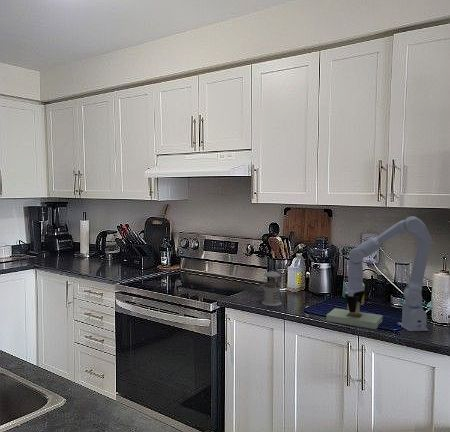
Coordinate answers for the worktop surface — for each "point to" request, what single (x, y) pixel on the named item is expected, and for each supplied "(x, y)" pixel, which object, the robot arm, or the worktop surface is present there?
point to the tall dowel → (355, 311)
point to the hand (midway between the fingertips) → (354, 309)
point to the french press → (272, 288)
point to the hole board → (354, 318)
